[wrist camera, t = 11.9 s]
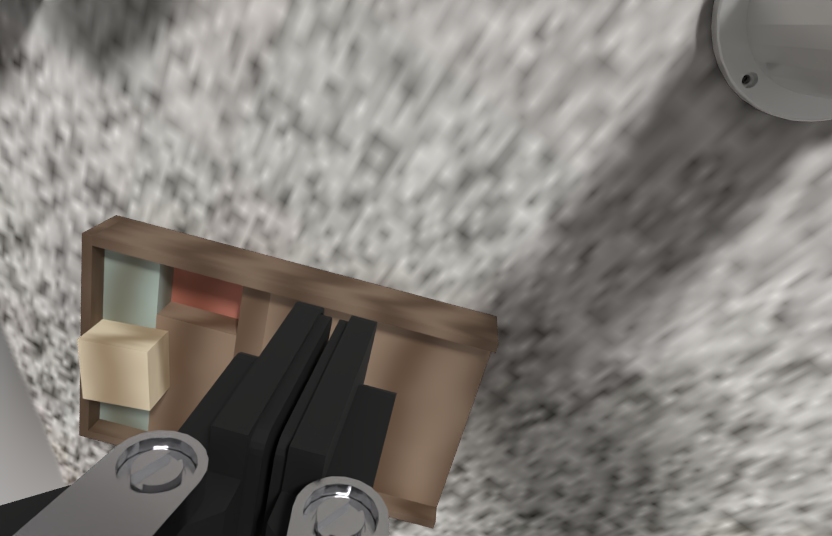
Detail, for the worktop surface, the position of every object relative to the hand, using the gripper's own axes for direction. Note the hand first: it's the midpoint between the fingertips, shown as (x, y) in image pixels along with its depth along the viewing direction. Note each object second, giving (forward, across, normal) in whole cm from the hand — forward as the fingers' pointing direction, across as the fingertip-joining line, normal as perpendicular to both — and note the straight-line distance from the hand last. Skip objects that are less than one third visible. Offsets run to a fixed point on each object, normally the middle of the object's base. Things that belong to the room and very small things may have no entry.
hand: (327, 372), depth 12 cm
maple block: (+25, +18, +21) cm, 38 cm away
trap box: (+28, +7, +21) cm, 35 cm away
